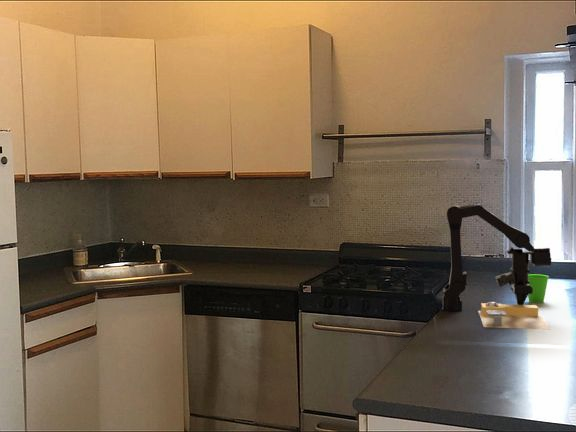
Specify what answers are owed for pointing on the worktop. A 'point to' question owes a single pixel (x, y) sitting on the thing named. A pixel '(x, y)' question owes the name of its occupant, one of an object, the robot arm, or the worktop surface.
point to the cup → (537, 287)
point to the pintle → (491, 304)
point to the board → (516, 322)
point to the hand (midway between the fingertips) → (519, 308)
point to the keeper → (496, 316)
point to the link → (512, 309)
